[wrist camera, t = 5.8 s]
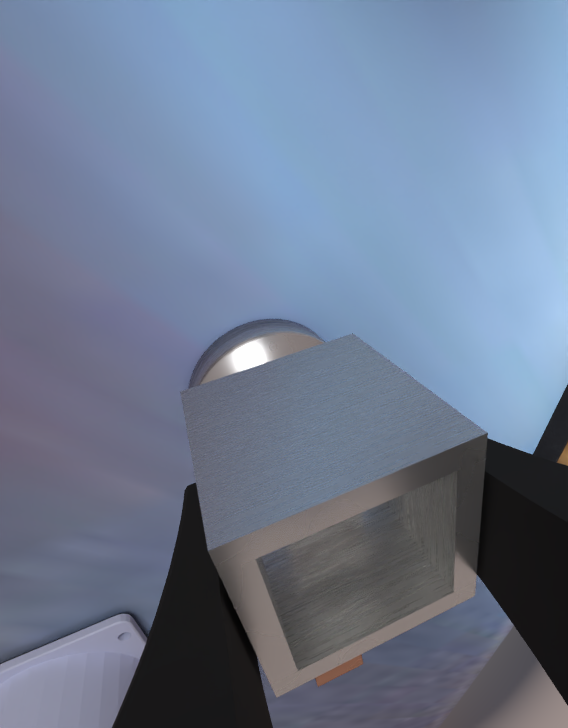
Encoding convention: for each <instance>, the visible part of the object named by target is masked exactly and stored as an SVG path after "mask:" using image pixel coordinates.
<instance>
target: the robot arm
mask: <svg viewBox="0 0 568 728" xmlns="http://www.w3.org/2000/svg"><path fill="white" fill-rule="evenodd" d="M477 575H478V576H479V578H480V579H481V580H482V581H483V583H484V584H485V585H486V587H487V588H488V590H489V591H490V592H491V594H492V595H493V597H494V598H495V599H496V601H497V602H498V604H499V605H500V606H501V608H502V609H503V610H504V612H505V613H506V615H507V616H508V617H509V619H510V620H511V622H512V623H513V625H514V626H515V627H516V629H517V630H518V632H519V633H520V635H521V636H522V638H523V639H524V640H525V642H526V643H527V645H528V646H529V648H530V649H531V651H532V652H533V654H534V655H535V656H536V658H537V659H538V661H539V662H540V664H541V665H542V667H543V668H544V670H545V672H546V673H547V675H548V676H549V677H550V679H551V680H552V682H553V684H554V685H555V687H556V688H557V690H558V691H559V693H560V694H561V696H562V697H563V699H564V700H565V702H566V703H567V705H568V466H567V465H564V464H560V463H557V462H553V461H550V460H547V459H544V458H541V457H538V456H535V455H532V454H529V453H526V452H523V451H521V450H518V449H515V448H512V447H509V446H506V445H504V444H501V443H498V442H496V441H493V440H491V439H488V438H487V448H486V460H485V473H484V486H483V498H482V511H481V524H480V536H479V549H478V562H477ZM0 728H273V726H272V722H271V718H270V714H269V710H268V706H267V702H266V698H265V694H264V690H263V686H262V681H261V676H260V671H259V666H258V660H257V655H256V653H255V650H254V648H253V646H252V644H251V642H250V640H249V638H248V635H247V633H246V631H245V629H244V627H243V625H242V623H241V621H240V618H239V616H238V614H237V612H236V610H235V608H234V606H233V603H232V601H231V599H230V597H229V595H228V593H227V591H226V588H225V586H224V584H223V582H222V580H221V578H220V576H219V574H218V571H217V569H216V567H215V565H214V563H213V561H212V559H211V556H210V554H209V552H208V548H207V543H206V537H205V531H204V525H203V520H202V514H201V508H200V502H199V497H198V491H197V485H196V483H194V484H191V485H188V486H187V488H186V489H185V493H184V502H183V509H182V515H181V521H180V526H179V531H178V536H177V540H176V544H175V548H174V552H173V557H172V561H171V565H170V569H169V572H168V576H167V579H166V583H165V586H164V589H163V593H162V596H161V599H160V603H159V606H158V609H157V612H156V616H155V619H154V621H153V624H152V627H151V630H150V633H149V636H148V639H147V638H146V636H145V635H144V633H143V632H142V630H141V629H140V627H139V626H138V624H137V623H136V622H135V620H134V619H133V617H132V616H130V615H129V614H119V615H116V616H113V617H111V618H109V619H106V620H104V621H101V622H99V623H97V624H94V625H92V626H90V627H87V628H85V629H82V630H80V631H78V632H75V633H73V634H71V635H68V636H66V637H64V638H61V639H59V640H56V641H54V642H52V643H49V644H47V645H45V646H42V647H40V648H37V649H35V650H33V651H30V652H28V653H26V654H23V655H21V656H18V657H16V658H14V659H11V660H9V661H7V662H4V663H2V664H0Z"/></svg>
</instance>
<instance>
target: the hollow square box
mask: <svg viewBox="0 0 568 728" xmlns="http://www.w3.org/2000/svg"><path fill="white" fill-rule="evenodd" d="M180 393H181V399H182V405H183V410H184V416H185V422H186V428H187V433H188V439H189V445H190V451H191V456H192V462H193V468H194V474H195V479H196V485H197V491H198V497H199V502H200V508H201V514H202V520H203V525H204V531H205V537H206V543H207V548H208V552H209V554H210V556H211V559H212V561H213V563H214V565H215V567H216V569H217V571H218V574H219V576H220V578H221V580H222V582H223V584H224V586H225V588H226V591H227V593H228V595H229V597H230V599H231V601H232V603H233V606H234V608H235V610H236V612H237V614H238V616H239V618H240V621H241V623H242V625H243V627H244V629H245V631H246V633H247V635H248V638H249V640H250V642H251V644H252V646H253V648H254V650H255V653H256V655H257V657H258V659H259V661H260V663H261V665H262V667H263V670H264V672H265V674H266V676H267V678H268V680H269V682H270V685H271V687H272V689H273V691H274V693H275V695H276V697H279V696H281V695H283V694H285V693H287V692H289V691H291V690H293V689H294V688H296V687H298V686H300V685H302V684H304V683H306V682H308V681H310V680H312V679H314V678H316V677H318V676H320V675H322V674H324V673H326V672H328V671H330V670H331V669H333V668H335V667H337V666H339V665H341V664H343V663H345V662H347V661H349V660H351V659H353V658H355V657H357V656H359V655H361V654H363V653H365V652H366V651H368V650H370V649H372V648H374V647H376V646H378V645H380V644H382V643H384V642H386V641H388V640H390V639H392V638H394V637H396V636H398V635H400V634H401V633H403V632H405V631H407V630H409V629H411V628H413V627H415V626H417V625H419V624H421V623H423V622H425V621H427V620H429V619H431V618H433V617H435V616H437V615H438V614H440V613H442V612H444V611H446V610H448V609H450V608H452V607H454V606H456V605H458V604H460V603H462V602H464V601H466V600H468V599H470V598H472V597H473V596H475V587H476V574H477V562H478V549H479V536H480V524H481V511H482V498H483V486H484V473H485V460H486V448H487V435H488V433H487V432H486V431H484V430H483V429H482V428H480V427H479V426H478V425H476V424H475V423H474V422H472V421H471V420H470V419H468V418H467V417H466V416H464V415H463V414H461V413H460V412H459V411H457V410H456V409H455V408H453V407H452V406H451V405H449V404H448V403H447V402H445V401H444V400H443V399H441V398H440V397H438V396H437V395H436V394H434V393H433V392H432V391H430V390H429V389H428V388H426V387H425V386H424V385H422V384H421V383H420V382H418V381H417V380H415V379H414V378H413V377H411V376H410V375H409V374H407V373H406V372H405V371H403V370H402V369H401V368H399V367H398V366H397V365H395V364H394V363H392V362H391V361H390V360H388V359H387V358H386V357H384V356H383V355H382V354H380V353H379V352H378V351H376V350H375V349H373V348H372V347H371V346H369V345H368V344H367V343H365V342H364V341H363V340H361V339H360V338H359V337H357V336H356V335H355V334H353V333H352V334H349V335H346V336H343V337H340V338H337V339H334V340H331V341H328V342H325V343H322V344H320V345H317V346H314V347H311V348H308V349H305V350H302V351H299V352H296V353H293V354H290V355H287V356H284V357H281V358H278V359H275V360H272V361H269V362H266V363H263V364H260V365H257V366H254V367H251V368H249V369H246V370H243V371H240V372H237V373H234V374H231V375H228V376H225V377H222V378H219V379H216V380H213V381H210V382H207V383H204V384H201V385H198V386H195V387H192V388H189V389H186V390H183V391H180Z"/></svg>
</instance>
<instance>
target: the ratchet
mask: <svg viewBox="0 0 568 728" xmlns="http://www.w3.org/2000/svg"><path fill="white" fill-rule="evenodd" d="M322 343H325V341H324V340H322V339H321V338H320V337H319V336H318V335H317V334H316V333H315V332H313V331H312V330H310V329H309V328H307V327H305V326H303V325H301V324H299V323H296V322H292V321H288V320H282V319H264V320H257V321H253V322H249V323H246V324H243V325H241V326H238V327H236V328H234V329H232V330H230V331H228V332H227V333H225V334H224V335H222V336H221V337H220V338H218V339H217V340H216V341H215V342H214V343H213V344H212V345H211V346H210V347H209V348H208V349H207V350H206V351H205V352H204V354H203V355H202V356H201V358H200V359H199V361H198V362H197V364H196V366H195V368H194V370H193V373H192V376H191V379H190V383H189V388H192V387H195V386H198V385H201V384H204V383H207V382H210V381H213V380H216V379H219V378H222V377H225V376H228V375H231V374H234V373H237V372H240V371H243V370H246V369H249V368H251V367H254V366H257V365H260V364H263V363H266V362H269V361H272V360H275V359H278V358H281V357H284V356H287V355H290V354H293V353H296V352H299V351H302V350H305V349H308V348H311V347H314V346H317V345H320V344H322ZM189 388H188V389H189ZM362 664H363V661H362V655H359V656H357V657H355V658H353V659H351V660H349V661H347V662H345V663H343V664H341V665H339V666H337V667H335V668H333V669H331V670H330V671H328V672H326V673H324V674H322V675H320V676H318V677H316V678H315V679H316V682H317V685H318V687H319V686H321V685H323V684H325V683H327V682H329V681H331V680H333V679H335V678H336V677H338V676H340V675H342V674H344V673H346V672H348V671H350V670H352V669H354V668H356V667H358V666H360V665H362Z"/></svg>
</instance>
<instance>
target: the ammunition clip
mask: <svg viewBox="0 0 568 728" xmlns="http://www.w3.org/2000/svg"><path fill="white" fill-rule="evenodd" d="M533 455H535V456H538V457H541V458H544V459H547V460H550V461H553V462H557V463H560V464H564V465H567V466H568V385H567V387H566V389H565V391H564V393H563V395H562V397H561V399H560V401H559V403H558V405H557V407H556V409H555V411H554V413H553V415H552V417H551V419H550V421H549V423H548V425H547V427H546V429H545V431H544V433H543V435H542V437H541V439H540V441H539V443H538V445H537V447H536V449H535V451H534V454H533Z"/></svg>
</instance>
